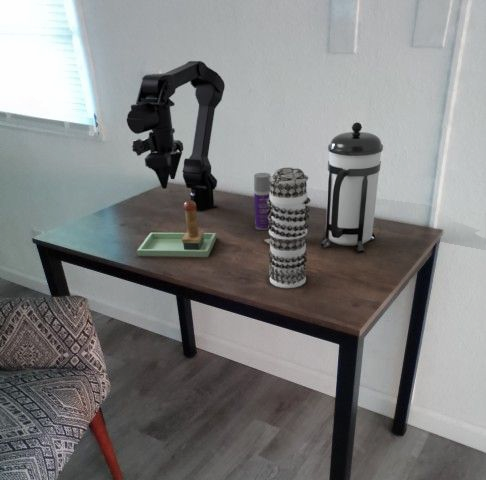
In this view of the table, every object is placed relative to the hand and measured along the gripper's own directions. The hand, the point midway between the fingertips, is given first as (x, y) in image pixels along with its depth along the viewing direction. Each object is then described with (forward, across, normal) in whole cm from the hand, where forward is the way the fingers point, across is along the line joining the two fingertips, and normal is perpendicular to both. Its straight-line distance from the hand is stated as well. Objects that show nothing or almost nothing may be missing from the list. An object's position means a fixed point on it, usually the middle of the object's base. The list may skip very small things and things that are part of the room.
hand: (168, 183), depth 141 cm
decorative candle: (+12, +35, +36) cm, 52 cm away
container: (+12, +3, +28) cm, 30 cm away
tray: (+12, +19, +6) cm, 23 cm away
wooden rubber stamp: (+11, +18, +10) cm, 24 cm away
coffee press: (+12, +15, +51) cm, 54 cm away
